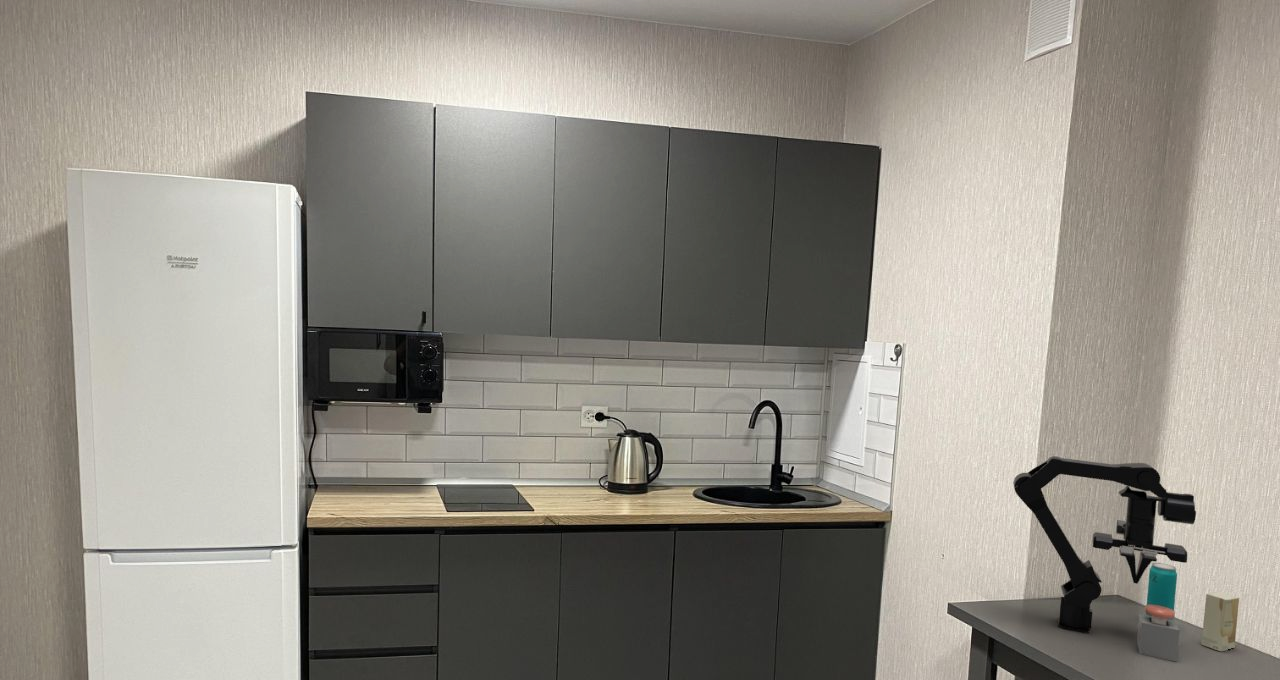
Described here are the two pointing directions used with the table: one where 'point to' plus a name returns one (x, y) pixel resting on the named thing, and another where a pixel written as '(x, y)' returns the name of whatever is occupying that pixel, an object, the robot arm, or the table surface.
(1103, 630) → the table surface
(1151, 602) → the beverage can
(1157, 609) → the red plunger
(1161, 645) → the button housing
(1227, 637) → the skincare box
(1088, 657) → the table surface
